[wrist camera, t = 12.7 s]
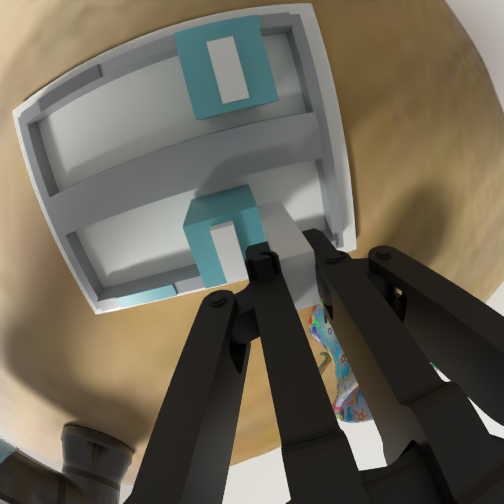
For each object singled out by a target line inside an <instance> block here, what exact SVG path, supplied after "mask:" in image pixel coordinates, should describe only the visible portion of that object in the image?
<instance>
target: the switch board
mask: <svg viewBox="0 0 504 504" xmlns="http://www.w3.org/2000/svg"><path fill="white" fill-rule="evenodd" d="M255 28H260V32H261V35H262V38H263V42H264V45H265V49H266V53H267V56H268V60H269V64H270V67H271V71H272V75H273V79H274V83H275V87H276V91H277V95H278V99H279V101H276V102H272V103H269V104H266V105H263V106H258V107H253V108H248V109H244V110H240V111H236V112H231V113H227V114H224V115H220V116H216V117H212V118H209V119H205V120H196V119H195V115H194V112H193V108H192V104H191V101H190V97H189V93H188V90H187V86H186V82H185V78H184V75H183V71H182V67H181V63H180V60H179V56H178V52H177V48H176V47H177V46H180V45H184V44H187V43H190V42H194V41H198V40H201V39H205V38H209V37H214V36H218V35H222V34H227V33H232V32H237V31H243V30H248V29H255ZM12 112H13V117H14V122H15V127H16V131H17V135H18V139H19V143H20V147H21V150H22V154H23V157H24V161H25V164H26V167H27V170H28V174H29V177H30V180H31V183H32V185H33V188H34V191H35V194H36V196H37V199H38V202H39V204H40V207H41V209H42V212H43V214H44V217H45V219H46V221H47V224H48V226H49V228H50V231H51V233H52V235H53V237H54V239H55V241H56V244H57V246H58V248H59V250H60V252H61V254H62V256H63V258H64V260H65V262H66V264H67V266H68V267H69V269H70V271H71V273H72V275H73V277H74V279H75V280H76V282H77V284H78V286H79V287H80V289H81V291H82V293H83V294H84V296H85V298H86V299H87V301H88V303H89V304H90V306H91V308H92V309H93V311H94V312H95V314H96V315H98V314H102V313H107V312H111V311H116V310H120V309H125V308H129V307H134V306H138V305H143V304H147V303H151V302H156V301H160V300H164V299H168V298H173V297H177V296H181V295H185V294H189V293H193V292H197V291H202V290H206V289H210V288H214V287H218V286H222V285H226V284H230V283H234V282H238V281H241V280H238V281H234V282H230V283H226V284H222V285H218V286H214V287H210V288H205V285H204V283H203V280H202V278H201V275H200V273H199V270H198V267H197V265H196V262H195V260H194V257H193V254H192V252H191V249H190V246H189V244H188V241H187V238H186V236H185V233H184V230H183V223H184V220H185V217H186V214H187V211H188V208H189V205H190V202H191V199H195V198H198V197H202V196H205V195H209V194H212V193H216V192H219V191H223V190H227V189H230V188H234V187H238V186H242V185H246V184H248V185H249V187H250V189H251V192H252V194H253V197H254V199H255V201H256V204H257V206H261V205H265V204H269V203H273V202H277V201H280V202H281V203H282V204H283V206H284V207H285V209H286V210H287V212H288V213H289V215H290V216H291V217H292V219H293V220H294V222H295V223H296V225H297V226H298V228H299V229H300V231H305V230H309V229H313V228H315V229H318V230H320V231H322V232H323V233H324V235H325V237H327V238H328V240H329V241H330V242H331V243H332V244H333V246H334V247H335V248H336V249H337V250H341V251H344V252H349V251H352V250H356V233H355V219H354V208H353V197H352V188H351V179H350V171H349V163H348V156H347V150H346V143H345V137H344V131H343V125H342V120H341V114H340V109H339V104H338V99H337V94H336V90H335V85H334V81H333V77H332V73H331V68H330V64H329V61H328V57H327V53H326V49H325V46H324V42H323V39H322V35H321V32H320V28H319V25H318V22H317V19H316V16H315V13H314V10H313V7H312V4H311V3H296V4H280V5H269V6H261V7H253V8H246V9H240V10H234V11H228V12H223V13H218V14H214V15H209V16H205V17H201V18H197V19H193V20H190V21H186V22H182V23H179V24H176V25H173V26H169V27H166V28H163V29H160V30H157V31H155V32H152V33H149V34H146V35H144V36H141V37H139V38H136V39H134V40H131V41H129V42H126V43H124V44H122V45H120V46H117V47H115V48H113V49H111V50H109V51H107V52H104V53H102V54H100V55H98V56H96V57H94V58H93V59H91V60H89V61H87V62H85V63H83V64H81V65H80V66H78V67H76V68H74V69H73V70H71V71H69V72H67V73H66V74H64V75H63V76H61V77H59V78H58V79H56V80H55V81H53V82H51V83H50V84H48V85H47V86H45V87H44V88H43V89H41V90H40V91H38V92H37V93H35V94H34V95H33V96H31V97H30V98H29V99H27V100H26V101H25V102H23V103H22V104H21V105H19V106H18V107H17V108H16V109H14V110H13V111H12ZM246 279H249V278H246ZM242 280H245V279H242Z"/></svg>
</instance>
